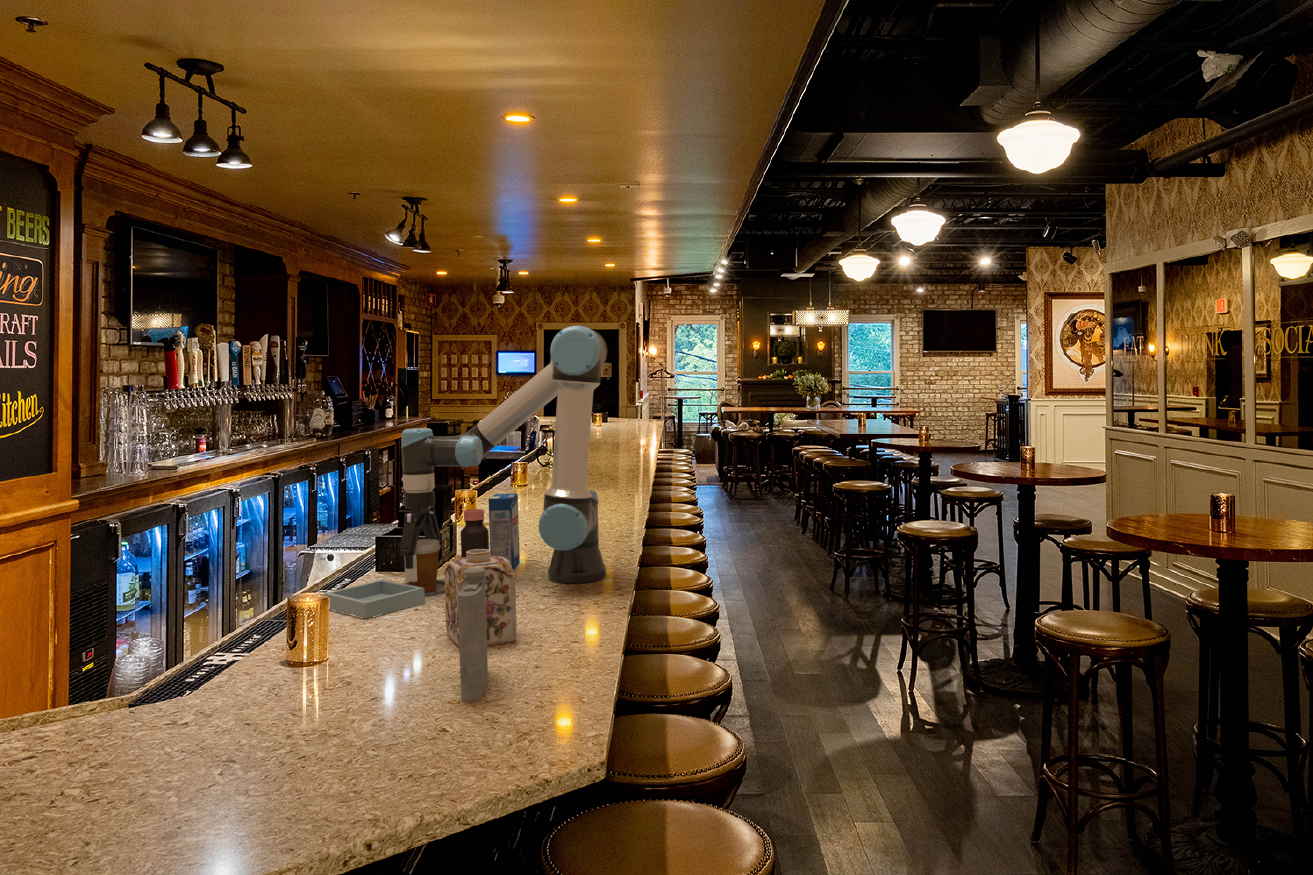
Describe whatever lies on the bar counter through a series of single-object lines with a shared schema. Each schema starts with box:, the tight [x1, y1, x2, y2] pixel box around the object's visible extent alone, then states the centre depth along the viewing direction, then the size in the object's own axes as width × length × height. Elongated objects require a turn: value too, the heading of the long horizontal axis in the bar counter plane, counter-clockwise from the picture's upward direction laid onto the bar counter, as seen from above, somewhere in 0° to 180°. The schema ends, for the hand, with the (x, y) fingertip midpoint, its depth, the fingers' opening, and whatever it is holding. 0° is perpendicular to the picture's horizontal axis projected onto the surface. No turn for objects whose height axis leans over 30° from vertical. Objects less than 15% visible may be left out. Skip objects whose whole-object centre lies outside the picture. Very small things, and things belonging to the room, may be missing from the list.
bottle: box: [460, 508, 490, 558], centre depth 209 cm, size 7×7×20 cm
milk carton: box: [488, 492, 521, 572], centre depth 234 cm, size 10×6×20 cm, turn 179°
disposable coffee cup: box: [409, 538, 442, 592], centre depth 211 cm, size 10×10×12 cm
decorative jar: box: [443, 549, 517, 648], centre depth 170 cm, size 12×12×18 cm
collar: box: [402, 579, 445, 597], centre depth 211 cm, size 15×15×1 cm
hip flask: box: [457, 568, 489, 703], centre depth 144 cm, size 16×4×20 cm, turn 8°
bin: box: [323, 578, 426, 620], centre depth 197 cm, size 16×16×4 cm
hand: (422, 574), depth 211 cm, fingers open, 13 cm apart
